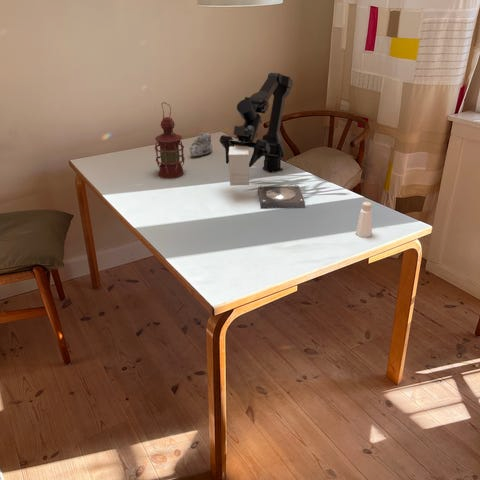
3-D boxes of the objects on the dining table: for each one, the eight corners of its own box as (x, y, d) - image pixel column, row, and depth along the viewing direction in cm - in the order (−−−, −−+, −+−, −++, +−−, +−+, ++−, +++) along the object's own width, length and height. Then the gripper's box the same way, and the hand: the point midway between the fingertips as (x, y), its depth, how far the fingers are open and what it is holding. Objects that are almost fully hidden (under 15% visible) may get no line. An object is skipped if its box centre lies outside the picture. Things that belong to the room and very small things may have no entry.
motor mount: (257, 191, 204) (257, 185, 202) (298, 190, 204) (299, 184, 203) (260, 208, 189) (260, 201, 188) (304, 207, 190) (305, 200, 189)
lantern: (190, 175, 220) (186, 103, 206) (165, 181, 214) (159, 108, 200) (177, 167, 229) (172, 97, 215) (151, 172, 223) (145, 102, 209)
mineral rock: (191, 159, 238) (190, 138, 233) (183, 152, 247) (182, 131, 242) (217, 155, 243) (217, 134, 238) (209, 149, 251) (208, 128, 247)
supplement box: (249, 176, 199) (249, 145, 192) (249, 185, 193) (249, 154, 186) (229, 176, 199) (229, 146, 192) (229, 185, 193) (228, 154, 186)
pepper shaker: (360, 228, 174) (363, 198, 169) (375, 233, 171) (378, 202, 166) (352, 234, 171) (355, 203, 165) (367, 239, 168) (370, 208, 162)
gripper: (220, 113, 192) (207, 151, 188) (267, 118, 184) (255, 158, 181) (230, 128, 202) (218, 165, 198) (275, 134, 194) (263, 172, 191)
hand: (238, 165), depth 192 cm, fingers closed on supplement box, 9 cm apart
